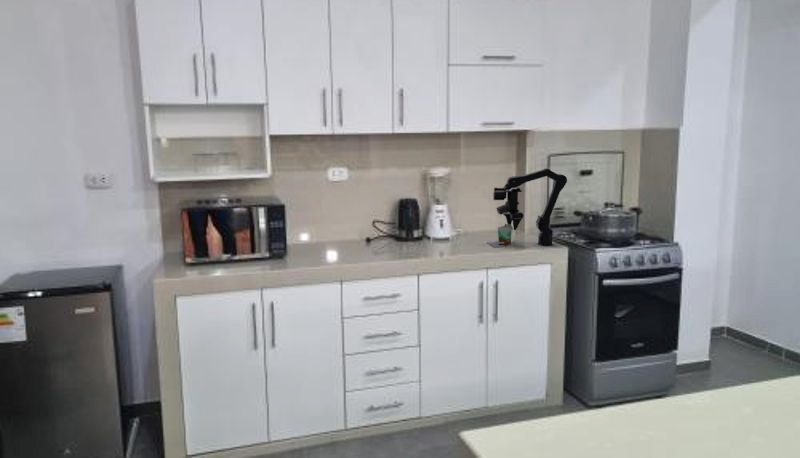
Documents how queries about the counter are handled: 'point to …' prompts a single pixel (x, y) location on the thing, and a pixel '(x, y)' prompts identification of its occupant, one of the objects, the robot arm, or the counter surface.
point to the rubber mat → (495, 244)
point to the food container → (505, 234)
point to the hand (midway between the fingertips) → (511, 228)
